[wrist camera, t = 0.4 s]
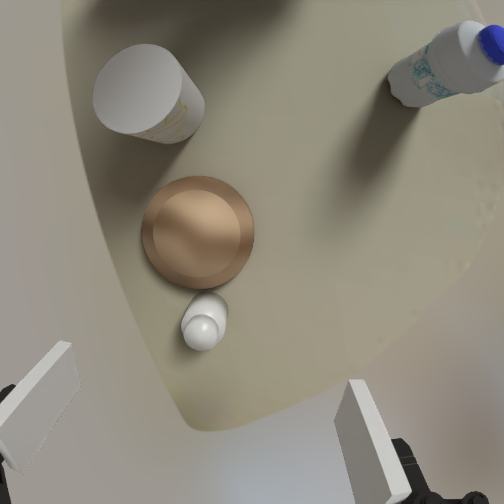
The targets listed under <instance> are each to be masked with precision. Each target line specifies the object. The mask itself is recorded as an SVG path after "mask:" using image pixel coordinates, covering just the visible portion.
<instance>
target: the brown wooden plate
mask: <svg viewBox="0 0 504 504" xmlns="http://www.w3.org/2000/svg"><path fill="white" fill-rule="evenodd" d="M142 240H143V245H144V249H145V251H146V254H147V256H148V258H149V260H150V262H151V263H152V264H153V266H154V267H155V268H156V269H157V271H158V272H159V273H160V274H162V275H163V276H164V277H165V278H167V279H168V280H170V281H171V282H173V283H175V284H177V285H180V286H183V287H187V288H192V289H207V288H212V287H216V286H219V285H221V284H223V283H226V282H227V281H229V280H230V279H232V278H233V277H234V276H236V275H237V274H238V273H239V272H240V271H241V269H242V268H243V267H244V265H245V264H246V262H247V260H248V258H249V256H250V254H251V251H252V247H253V242H254V223H253V218H252V215H251V212H250V209H249V207H248V205H247V203H246V202H245V200H244V199H243V197H242V196H241V195H240V194H239V193H238V192H237V191H236V190H235V189H234V188H233V187H231V186H230V185H228V184H227V183H225V182H223V181H221V180H218V179H215V178H212V177H206V176H192V177H185V178H181V179H178V180H175V181H173V182H171V183H169V184H167V185H166V186H164V187H163V188H162V189H161V190H159V191H158V192H157V193H156V194H155V196H154V197H153V198H152V200H151V201H150V203H149V205H148V206H147V208H146V211H145V214H144V217H143V221H142Z"/></svg>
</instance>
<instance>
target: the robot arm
mask: <svg viewBox="0 0 504 504" xmlns="http://www.w3.org/2000/svg"><path fill="white" fill-rule="evenodd" d="M80 388H81V383H80V379H79V374H78V370H77V365H76V360H75V355H74V350H73V345H72V343H68V342H64V341H59V342H58V343H57V344H56V345H55V346H54V347H53V348H52V349H51V350H50V351H49V352H48V353H47V354H46V355H45V356H44V357H43V358H42V359H41V360H40V361H39V362H38V363H37V364H36V366H34V368H33V369H32V370H31V371H30V372H29V373H28V374H27V375H26V376H25V377H24V378H23V380H21V381H20V383H19V384H18V385H17V386H16V385H13V384H11V385H9V386H7V387H6V388H4V389H3V390H2V391H1V392H0V504H11V500H10V496H9V492H8V488H7V483H6V478H5V473H4V468H3V466H2V464H1V463H2V462H3V461H4V460H5V461H6V463H7V464H8V466H9V467H10V468H12V469H13V470H15V471H17V472H19V473H21V474H24V473H25V471H26V469H27V468H28V466H29V465H30V463H31V461H32V460H33V458H34V457H35V455H36V453H37V452H38V450H39V449H40V447H41V446H42V444H43V442H44V441H45V439H46V438H47V436H48V435H49V433H50V432H51V430H52V429H53V427H54V426H55V424H56V423H57V421H58V420H59V418H60V417H61V415H62V414H63V412H64V411H65V409H66V408H67V407H68V405H69V403H70V402H71V401H72V399H73V398H74V396H75V395H76V394H77V392H78V391H79V389H80ZM334 422H335V426H336V430H337V434H338V437H339V441H340V445H341V449H342V452H343V456H344V460H345V464H346V467H347V471H348V475H349V479H350V483H351V487H352V491H353V495H354V499H355V503H356V504H489V502H488V499H487V497H486V496H485V495H484V494H482V493H481V492H477V491H474V492H470V493H468V494H466V495H465V497H464V498H463V499H443V498H442V497H441V496H440V495H439V494H437V493H435V492H431V491H430V489H429V488H428V485H427V483H426V481H425V479H424V477H423V474H422V472H421V470H420V468H419V466H418V464H417V461H416V459H415V457H414V456H413V453H412V450H411V448H410V446H409V445H408V444H407V443H406V442H405V441H404V440H403V439H402V438H398V439H390V437H389V435H388V432H387V430H386V428H385V426H384V423H383V421H382V419H381V417H380V414H379V412H378V410H377V408H376V405H375V403H374V401H373V399H372V396H371V394H370V392H369V390H368V388H367V386H366V383H365V381H364V380H348V384H347V386H346V389H345V392H344V395H343V398H342V401H341V403H340V406H339V409H338V411H337V414H336V417H335V419H334Z"/></svg>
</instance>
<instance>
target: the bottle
mask: <svg viewBox="0 0 504 504" xmlns="http://www.w3.org/2000/svg"><path fill="white" fill-rule="evenodd" d="M503 79H504V28H502V27H500V26H498V25H490V26H488V27H485V26H483V25H481V24H480V23H477V22H475V21H464V22H461V23H458V24H455V25H453V26H450V27H446V28H444V29H442V30H441V31H440V32H439V33H437V34H436V35H435V36H434V38H433V39H432V42H430V43H429V44H427V45H425V46H424V47H422V48H421V49H419V50H418V51H416V52H415V53H413V54H412V55H409V56H407V57H405V58H403V59H401V60H400V61H398V62H397V63H396V64H395V65H394V66H393V67H392V69H391V71H390V72H389V74H388V81H389V82H390V86H391V94H392V95H393V96H394V97H396V98H398V99H399V100H400V101H401V102H402V104H403V105H405V106H407V107H424V106H427V105H429V104H431V103H433V102H436V101H438V100H440V99H443V98H446V97H450V96H453V95H456V94H460V93H465V94H472V93H478V92H482V91H484V90H485V89H487V88H489V87H491V86H493V85H495V84H497V83H499V82H500V81H502V80H503Z"/></svg>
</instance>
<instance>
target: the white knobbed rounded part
mask: <svg viewBox="0 0 504 504" xmlns="http://www.w3.org/2000/svg"><path fill="white" fill-rule="evenodd" d="M227 316H228V306H227V304H226V302H225V300H224V299H223V298H222V297H221V296H219V295H218V294H215V293H212V292H203V293H200V294H198V295H196V296H195V297H194V298H193V299H192V301H191V303H190V305H189V307H188V309H187V311H186V313H185V315H184V318H183V320H182V323H181V329H182V332H183V335H184V340H185V342H186V343H187V345H188V346H189V347H191V348H192V349H194V350H197V351H207V350H209V349H211V348H212V347H213V346H214V345H216V344H217V343H219V342H220V341H221V340H222V338H223V336H224V332H225V327H226V322H227Z"/></svg>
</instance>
